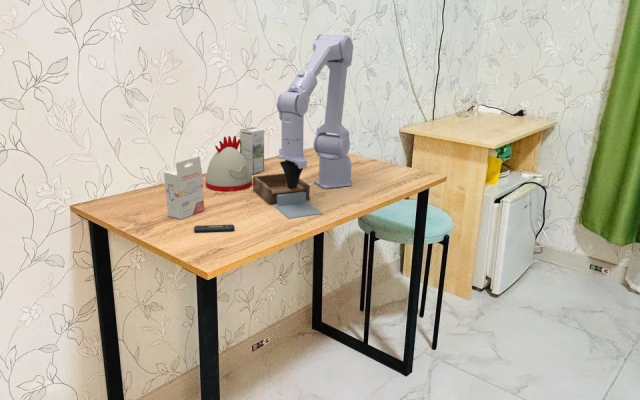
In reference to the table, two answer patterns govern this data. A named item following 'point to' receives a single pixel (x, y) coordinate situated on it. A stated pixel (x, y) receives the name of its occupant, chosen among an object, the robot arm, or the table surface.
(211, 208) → the table surface
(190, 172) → the ink cartridge box
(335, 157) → the robot arm
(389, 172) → the table surface
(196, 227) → the usb stick
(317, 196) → the table surface
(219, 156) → the kitchen timer
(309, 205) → the lid
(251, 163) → the syrup box
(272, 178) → the box
